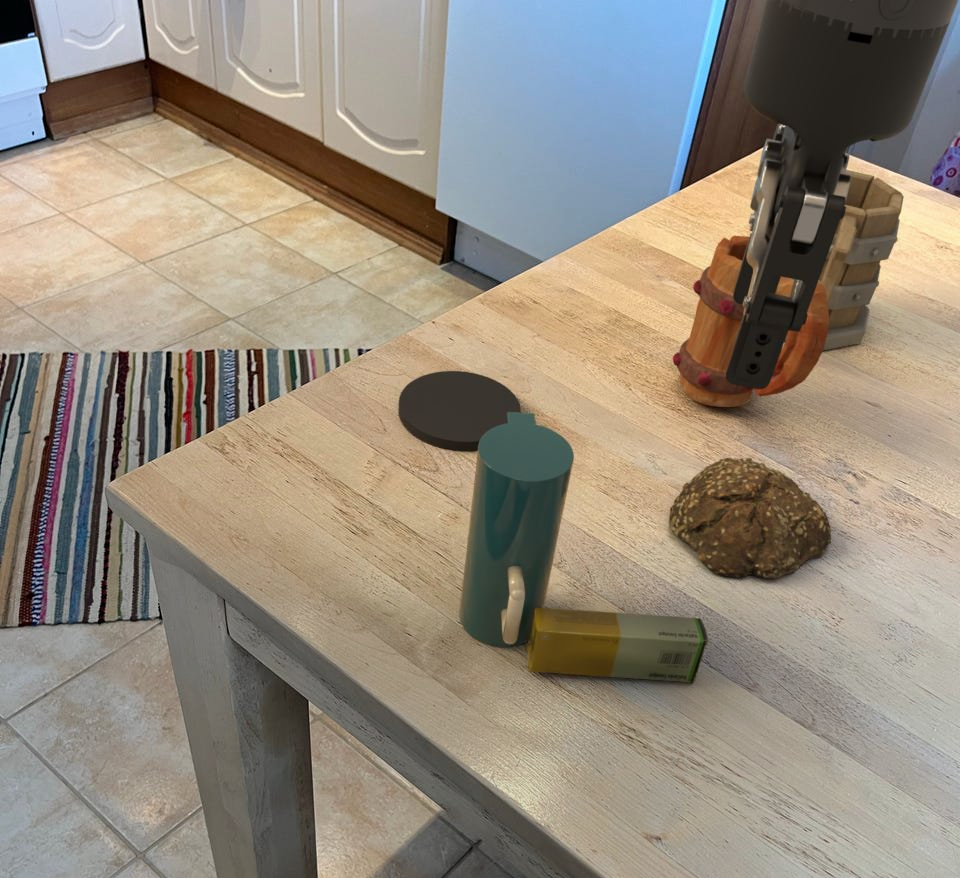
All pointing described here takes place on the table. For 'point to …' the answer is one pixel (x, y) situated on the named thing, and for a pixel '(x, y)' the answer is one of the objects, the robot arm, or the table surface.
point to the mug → (719, 327)
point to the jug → (513, 528)
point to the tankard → (858, 256)
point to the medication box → (616, 644)
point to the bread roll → (749, 520)
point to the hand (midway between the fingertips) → (748, 341)
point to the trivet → (454, 408)
